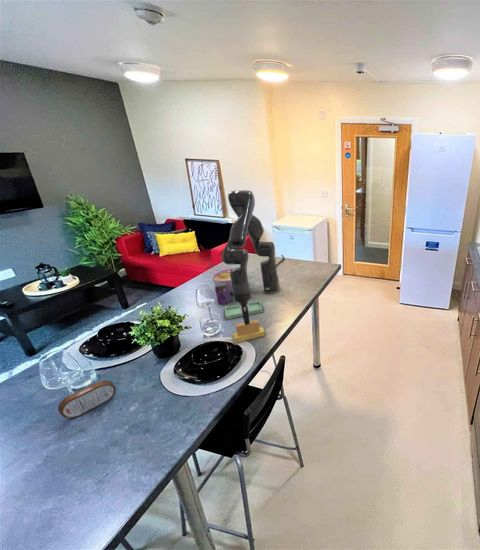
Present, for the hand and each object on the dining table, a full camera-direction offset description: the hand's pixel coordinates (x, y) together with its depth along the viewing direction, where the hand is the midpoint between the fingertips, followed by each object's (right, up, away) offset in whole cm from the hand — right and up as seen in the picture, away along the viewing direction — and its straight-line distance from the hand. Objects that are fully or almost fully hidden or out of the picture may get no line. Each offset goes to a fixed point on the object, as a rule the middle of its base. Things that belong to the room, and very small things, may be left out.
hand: (246, 319), depth 139 cm
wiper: (0, -9, +4) cm, 10 cm away
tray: (-12, +1, +25) cm, 28 cm away
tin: (-40, -26, -35) cm, 60 cm away
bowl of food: (-29, +12, +48) cm, 58 cm away
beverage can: (-28, +5, +34) cm, 45 cm away
